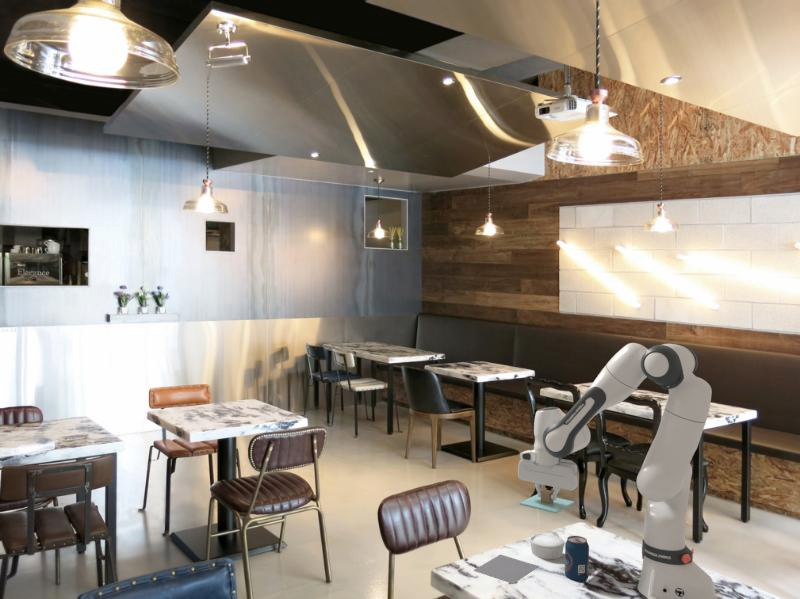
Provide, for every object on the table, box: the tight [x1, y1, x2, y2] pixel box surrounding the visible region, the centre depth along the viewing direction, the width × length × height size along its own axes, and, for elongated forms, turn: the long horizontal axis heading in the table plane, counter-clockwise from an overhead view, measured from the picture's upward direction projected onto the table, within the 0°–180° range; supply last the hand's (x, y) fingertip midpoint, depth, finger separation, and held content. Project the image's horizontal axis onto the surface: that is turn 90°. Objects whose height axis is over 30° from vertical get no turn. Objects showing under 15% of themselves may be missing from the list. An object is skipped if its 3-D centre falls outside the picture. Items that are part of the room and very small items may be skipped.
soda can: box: [564, 535, 590, 584], centre depth 195 cm, size 7×7×12 cm
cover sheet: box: [519, 489, 575, 514], centre depth 212 cm, size 13×13×4 cm
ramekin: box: [529, 533, 566, 560], centre depth 212 cm, size 11×11×5 cm
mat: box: [473, 554, 540, 585], centre depth 200 cm, size 14×16×1 cm
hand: (547, 498), depth 212 cm, fingers closed on cover sheet, 3 cm apart
